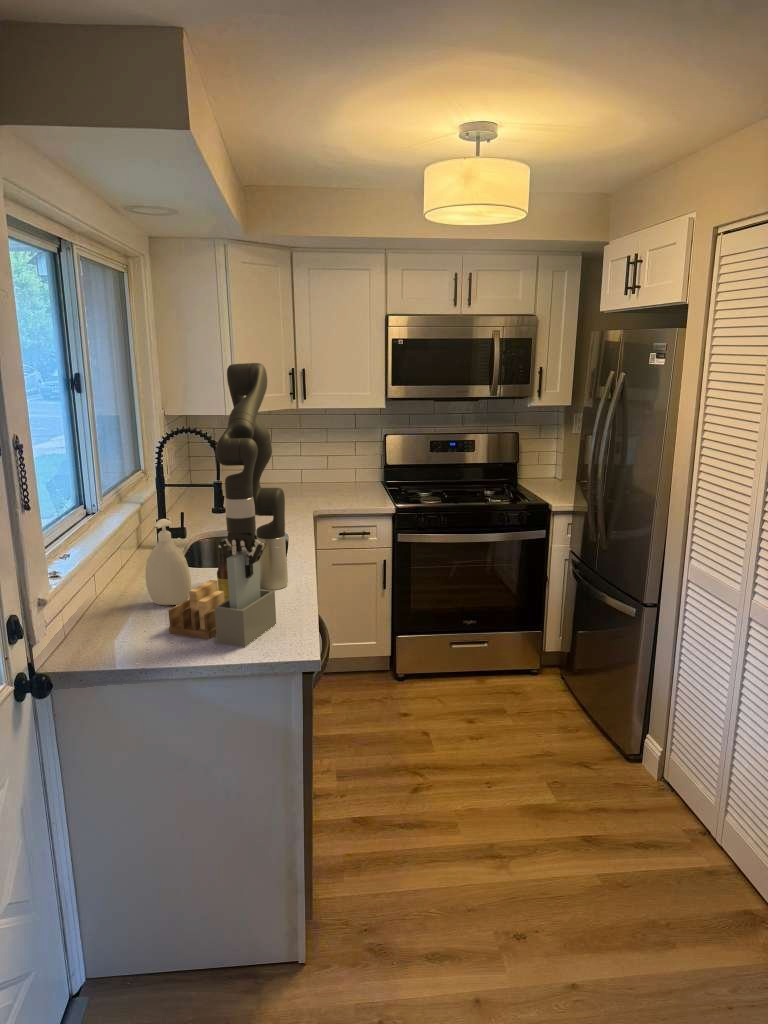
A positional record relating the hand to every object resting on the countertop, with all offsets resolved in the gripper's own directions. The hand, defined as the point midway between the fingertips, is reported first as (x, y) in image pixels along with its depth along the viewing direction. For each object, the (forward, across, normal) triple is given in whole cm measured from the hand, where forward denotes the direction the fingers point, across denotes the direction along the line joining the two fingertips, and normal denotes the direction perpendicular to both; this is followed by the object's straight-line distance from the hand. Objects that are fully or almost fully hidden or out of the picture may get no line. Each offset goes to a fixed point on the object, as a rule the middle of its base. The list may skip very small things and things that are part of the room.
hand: (244, 576), depth 178 cm
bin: (+16, 0, 0) cm, 16 cm away
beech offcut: (+14, +10, +1) cm, 18 cm away
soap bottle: (+16, +36, -12) cm, 41 cm away
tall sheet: (+13, 0, 0) cm, 13 cm away
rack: (+16, +14, 0) cm, 21 cm away
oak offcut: (+14, +14, -1) cm, 20 cm away
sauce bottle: (+16, +16, -15) cm, 27 cm away
